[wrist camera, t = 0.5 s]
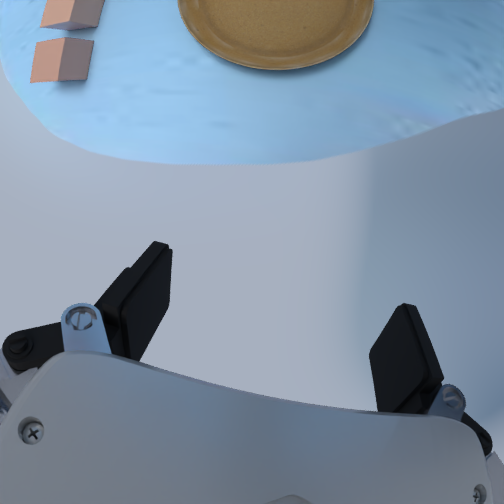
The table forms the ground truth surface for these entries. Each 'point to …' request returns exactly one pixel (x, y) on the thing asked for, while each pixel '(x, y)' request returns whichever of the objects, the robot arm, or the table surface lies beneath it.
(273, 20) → the plant saucer
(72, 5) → the toy block
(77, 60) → the salmon orange block
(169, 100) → the table surface
